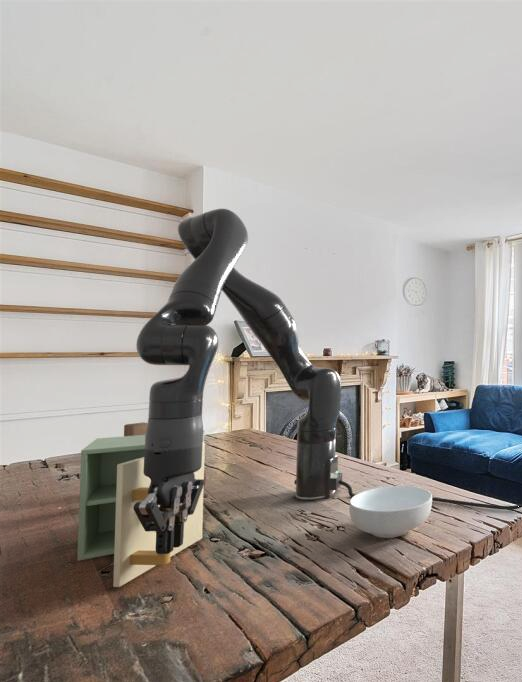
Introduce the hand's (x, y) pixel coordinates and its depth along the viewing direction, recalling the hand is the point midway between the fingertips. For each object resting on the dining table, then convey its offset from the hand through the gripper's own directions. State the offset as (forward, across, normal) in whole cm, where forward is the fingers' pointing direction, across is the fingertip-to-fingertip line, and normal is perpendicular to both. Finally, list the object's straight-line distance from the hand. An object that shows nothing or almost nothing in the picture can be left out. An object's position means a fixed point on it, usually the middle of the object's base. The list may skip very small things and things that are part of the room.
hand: (169, 549), depth 70 cm
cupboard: (+5, -17, -16) cm, 24 cm away
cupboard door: (+5, -7, -3) cm, 9 cm away
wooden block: (+5, -46, -36) cm, 59 cm away
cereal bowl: (+5, -18, +32) cm, 37 cm away
